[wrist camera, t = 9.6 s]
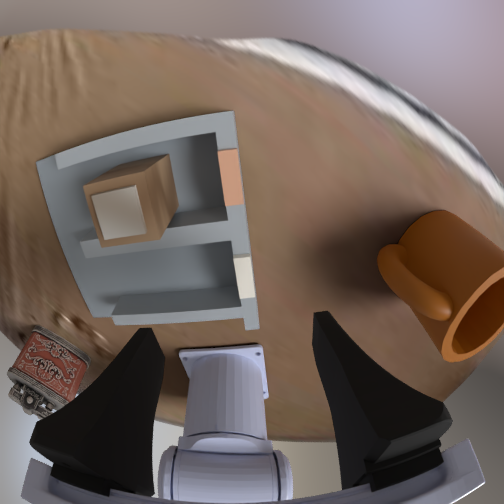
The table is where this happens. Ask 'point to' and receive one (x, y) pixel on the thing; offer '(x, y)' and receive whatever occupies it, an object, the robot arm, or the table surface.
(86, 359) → the lighter
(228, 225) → the socket board
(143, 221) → the plug
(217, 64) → the table surface
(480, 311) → the mug
